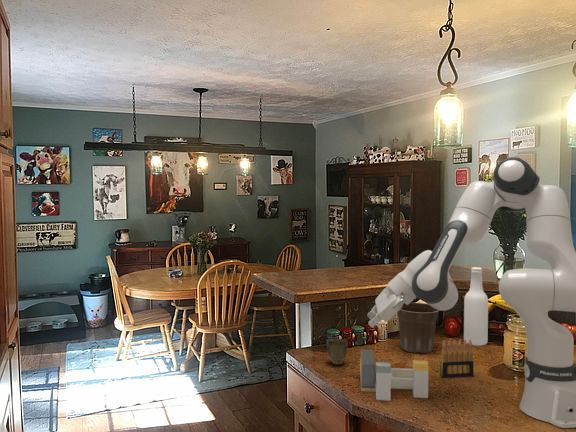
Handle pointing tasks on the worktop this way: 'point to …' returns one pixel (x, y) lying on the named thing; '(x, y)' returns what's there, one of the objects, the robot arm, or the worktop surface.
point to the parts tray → (401, 378)
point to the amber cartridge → (420, 379)
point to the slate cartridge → (383, 381)
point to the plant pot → (417, 327)
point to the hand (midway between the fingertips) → (369, 321)
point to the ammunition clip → (457, 360)
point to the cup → (337, 350)
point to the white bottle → (476, 311)
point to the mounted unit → (367, 371)
